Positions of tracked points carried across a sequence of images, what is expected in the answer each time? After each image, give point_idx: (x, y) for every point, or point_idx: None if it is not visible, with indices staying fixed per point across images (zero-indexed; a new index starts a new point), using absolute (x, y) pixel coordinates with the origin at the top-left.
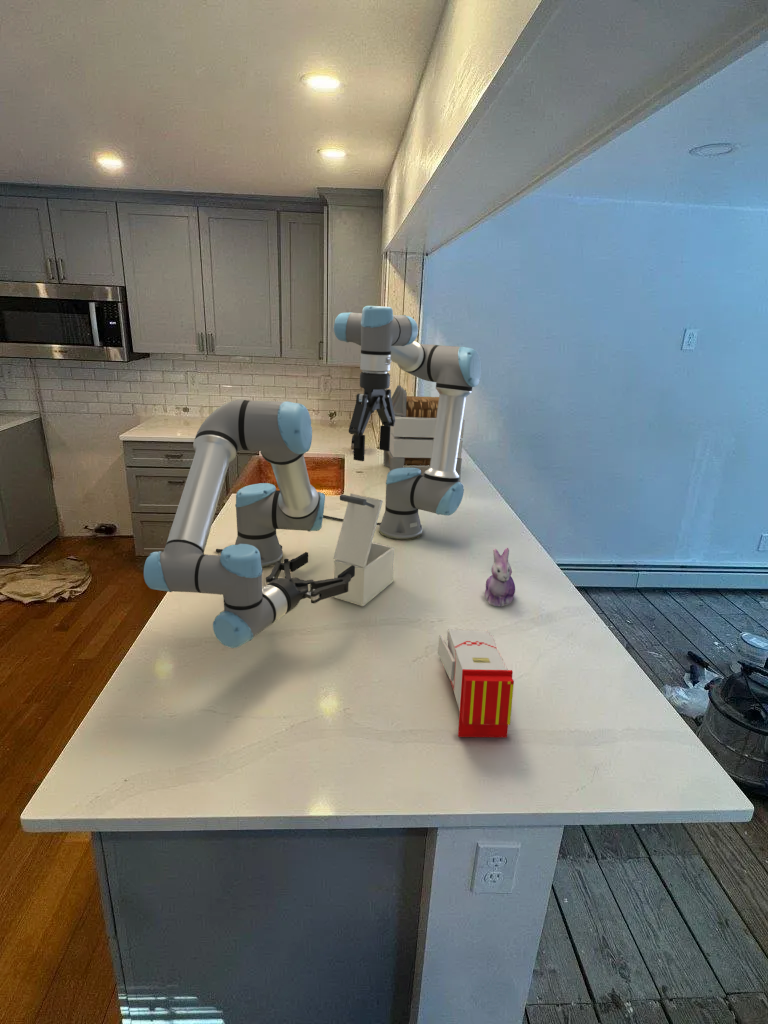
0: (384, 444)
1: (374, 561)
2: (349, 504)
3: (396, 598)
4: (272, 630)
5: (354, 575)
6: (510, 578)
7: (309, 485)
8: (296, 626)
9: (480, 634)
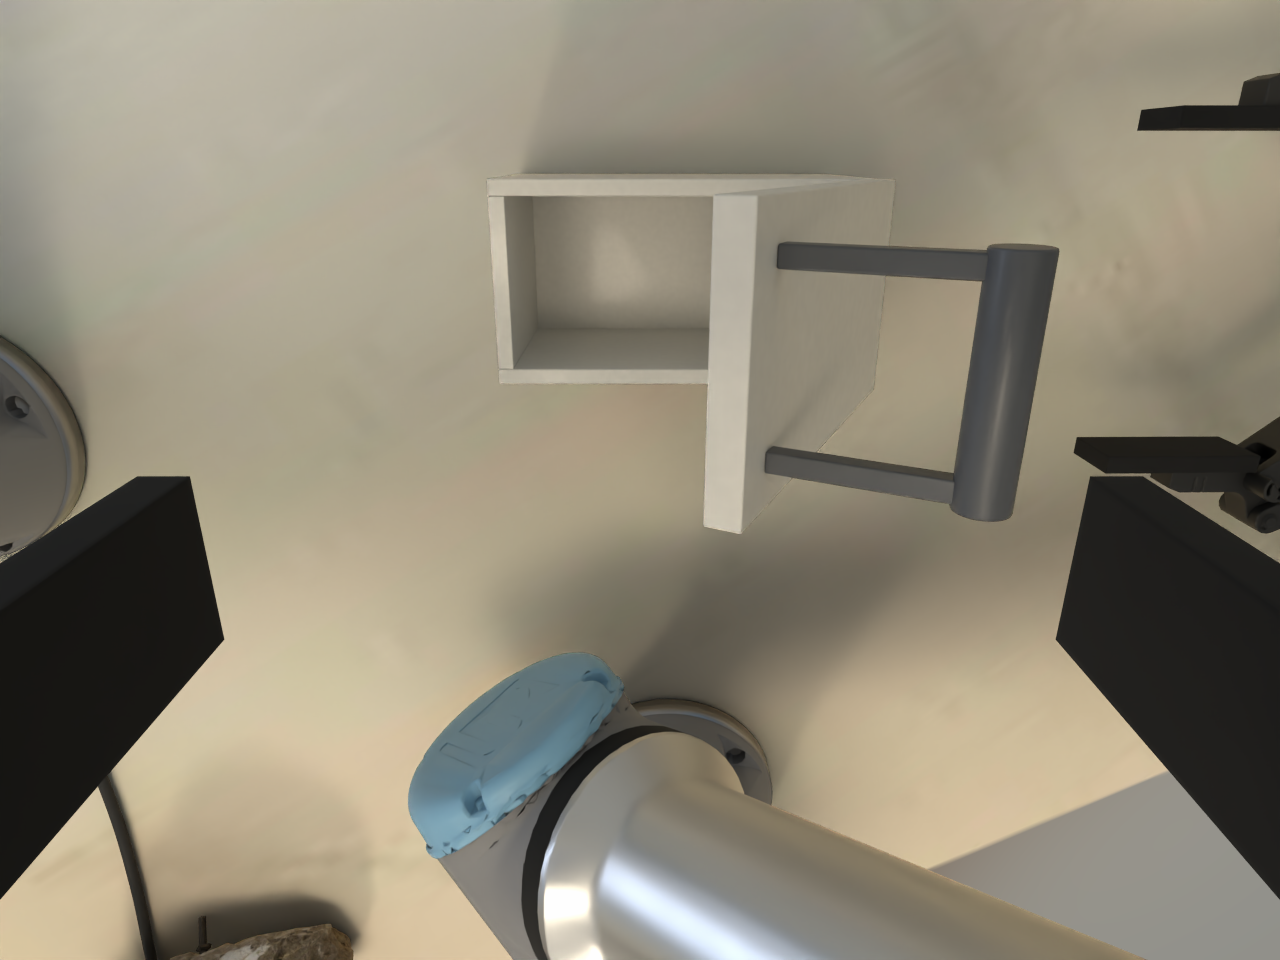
0: (146, 605)
1: (746, 183)
2: (773, 482)
3: (669, 66)
4: (1163, 394)
5: (1146, 109)
6: None
7: (761, 868)
8: (1101, 332)
9: None
